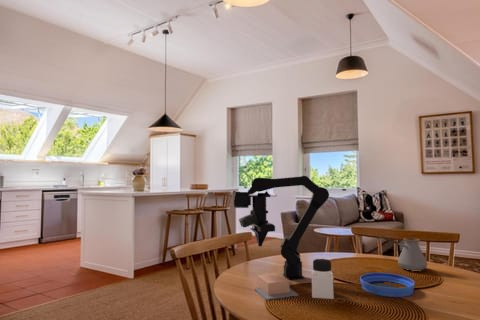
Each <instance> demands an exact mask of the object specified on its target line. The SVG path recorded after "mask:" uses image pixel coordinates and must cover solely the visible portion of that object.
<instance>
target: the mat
mask: <svg viewBox="0 0 480 320" xmlns="http://www.w3.org/2000/svg"><path fill="white" fill-rule="evenodd" d="M254 290H255V292H257V293H258V295H260V296H261V297H262V298H263V299H264V300H266V301H271V300H277V299H278V298H279V299H285V297H286V298H291V297H292V296H294V297H299V296H300V294H299V293H298V292H296V291H294V290H293V289H292V288H290V292H289V293H281V294H273V295H267V294H266V293H265V292H264V291H263V290H262V289H261V288H259V287H258V288H257V287H255V288H254ZM290 296H291V297H290ZM270 299H271V300H270Z"/></svg>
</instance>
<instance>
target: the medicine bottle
mask: <svg viewBox="0 0 480 320" xmlns="http://www.w3.org/2000/svg"><path fill="white" fill-rule="evenodd" d="M334 281H335V278H334V274H333V272H332V262H331V260H330V259H327V258H316V259H313V261H312V271H311V297H312V298H313V299H326V300H334V299H335V282H334Z"/></svg>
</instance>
